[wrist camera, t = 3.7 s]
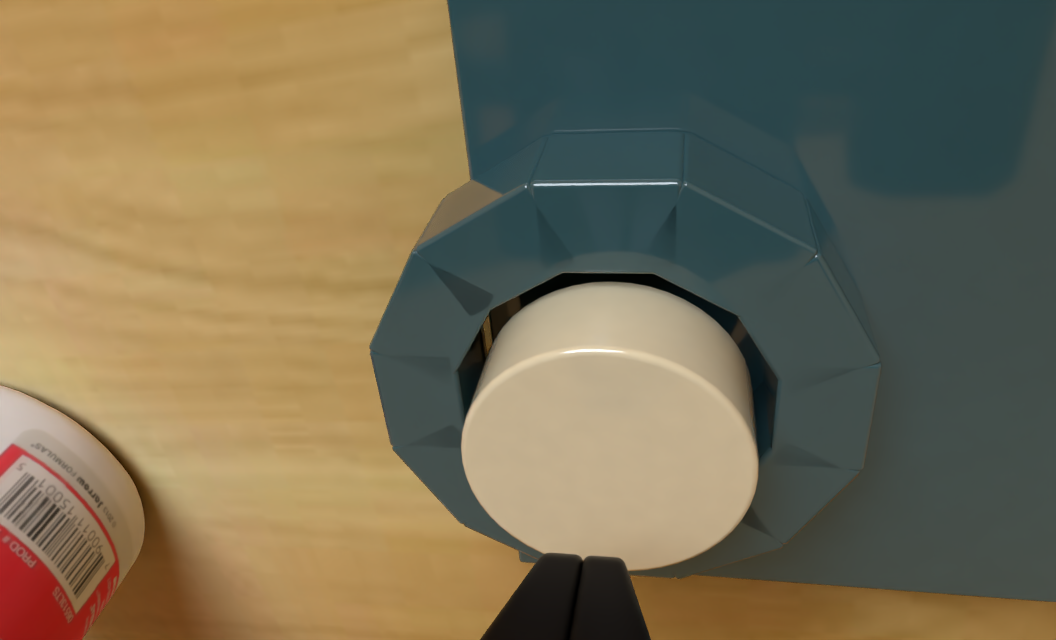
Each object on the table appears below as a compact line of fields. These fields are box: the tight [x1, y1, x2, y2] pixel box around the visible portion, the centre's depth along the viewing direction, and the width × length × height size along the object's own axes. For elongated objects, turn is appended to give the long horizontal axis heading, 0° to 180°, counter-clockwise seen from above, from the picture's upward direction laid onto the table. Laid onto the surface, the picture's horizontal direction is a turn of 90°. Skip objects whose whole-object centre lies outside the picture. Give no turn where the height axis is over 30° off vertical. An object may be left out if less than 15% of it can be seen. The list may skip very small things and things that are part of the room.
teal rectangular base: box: [370, 0, 1056, 602], centre depth 11 cm, size 17×10×3 cm, turn 95°
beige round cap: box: [461, 281, 759, 571], centre depth 11 cm, size 4×4×2 cm
